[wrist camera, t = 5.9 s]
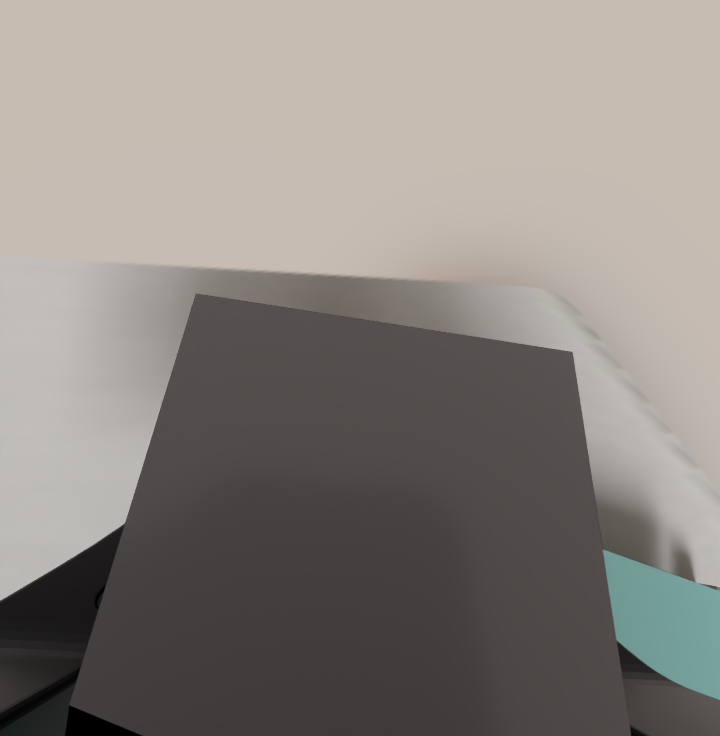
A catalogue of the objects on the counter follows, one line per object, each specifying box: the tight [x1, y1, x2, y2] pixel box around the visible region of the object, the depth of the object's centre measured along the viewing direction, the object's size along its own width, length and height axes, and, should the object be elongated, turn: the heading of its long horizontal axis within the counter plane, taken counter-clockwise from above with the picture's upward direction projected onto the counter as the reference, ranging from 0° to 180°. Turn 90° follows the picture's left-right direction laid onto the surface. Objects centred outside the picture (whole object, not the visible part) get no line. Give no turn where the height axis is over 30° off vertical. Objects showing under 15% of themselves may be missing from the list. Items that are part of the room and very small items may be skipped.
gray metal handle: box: [65, 294, 631, 736], centre depth 9 cm, size 7×7×14 cm
